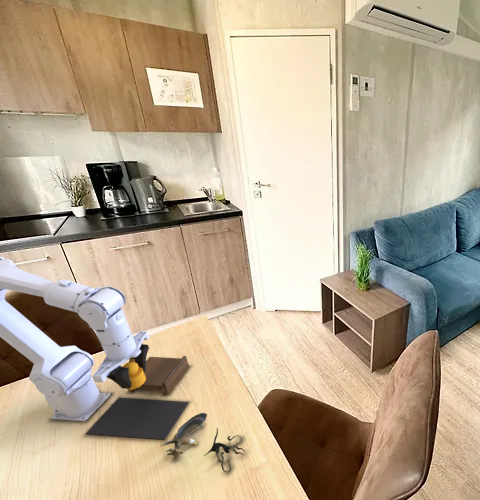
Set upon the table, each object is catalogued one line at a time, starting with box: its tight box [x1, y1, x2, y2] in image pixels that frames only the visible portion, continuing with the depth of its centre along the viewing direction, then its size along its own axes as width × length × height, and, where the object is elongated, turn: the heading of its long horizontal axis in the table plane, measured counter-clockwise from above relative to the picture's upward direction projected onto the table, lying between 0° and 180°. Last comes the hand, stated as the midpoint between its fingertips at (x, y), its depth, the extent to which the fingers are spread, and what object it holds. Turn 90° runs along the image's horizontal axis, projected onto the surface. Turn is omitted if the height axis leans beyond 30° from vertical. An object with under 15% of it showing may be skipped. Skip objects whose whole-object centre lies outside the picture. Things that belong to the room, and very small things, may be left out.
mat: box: [85, 397, 189, 441], centre depth 73 cm, size 20×10×1 cm, turn 86°
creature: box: [203, 427, 246, 473], centre depth 64 cm, size 8×5×8 cm
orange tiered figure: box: [122, 359, 146, 391], centre depth 71 cm, size 4×4×7 cm
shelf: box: [127, 355, 190, 396], centre depth 84 cm, size 12×10×5 cm
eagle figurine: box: [159, 412, 208, 460], centre depth 67 cm, size 8×7×9 cm
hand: (134, 379), depth 72 cm, fingers closed on orange tiered figure, 4 cm apart
